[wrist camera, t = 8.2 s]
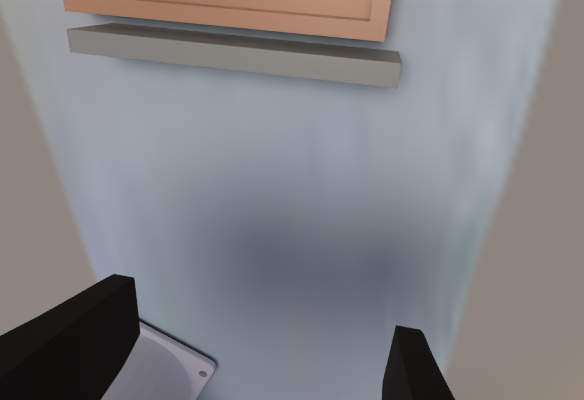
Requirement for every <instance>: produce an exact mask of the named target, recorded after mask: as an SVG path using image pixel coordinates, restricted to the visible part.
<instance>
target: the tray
mask: <svg viewBox="0 0 584 400" xmlns="http://www.w3.org/2000/svg"><path fill="white" fill-rule="evenodd" d="M63 1H64V8H65V11H71V12H81V13H92V14H102V15H112V16H122V17H133V18H143V19H153V20H164V21H174V22H184V23H195V24H205V25H215V26H226V27H236V28H246V29H257V30H267V31H277V32H288V33H298V34H308V35H319V36H329V37H339V38H350V39H360V40H370V41H381V42H384V41H385V35H386V29H387V23H388V16H389V10H390V4H391V0H63Z"/></svg>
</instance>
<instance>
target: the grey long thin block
mask: <svg viewBox="0 0 584 400" xmlns="http://www.w3.org/2000/svg"><path fill="white" fill-rule="evenodd" d="M67 34H68V41H69V48H70V52H73V53H82V54H91V55H100V56H109V57H119V58H128V59H137V60H146V61H155V62H164V63H173V64H182V65H191V66H200V67H209V68H218V69H227V70H236V71H245V72H254V73H263V74H273V75H282V76H291V77H300V78H309V79H318V80H327V81H336V82H345V83H354V84H363V85H372V86H381V87H390V88H397V86H398V80H399V75H400V69H401V64H402V63H401V60H400V56H399V52H396V51H386V50H376V49H366V48H356V47H346V46H336V45H326V44H316V43H306V42H296V41H286V40H276V39H266V38H255V37H245V36H235V35H225V34H215V33H205V32H195V31H185V30H175V29H165V28H155V27H145V26H135V25H125V24H115V23H110V24H103V25H95V26H87V27H80V28H72V29H67Z"/></svg>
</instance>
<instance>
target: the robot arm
mask: <svg viewBox="0 0 584 400" xmlns="http://www.w3.org/2000/svg"><path fill="white" fill-rule="evenodd" d="M215 368H216V364H215V363H214V362H213V361H212V360H210V359H209V358H207V357H205V356H203V355H201V354H199V353H197V352H196V351H194V350H192V349H190V348H188V347H186V346H184V345H183V344H181V343H179V342H177V341H175V340H173V339H171V338H169V337H168V336H166V335H164V334H162V333H160V332H158V331H156V330H155V329H153V328H151V327H149V326H147V325H145V324H143V323H142V322H140V321H139V315H138V306H137V298H136V289H135V280H134V278H133V277H127V276H122V275H116V274H113V275H111V276H109V277H107V278H105V279H104V280H102V281H100V282H98V283H96V284H95V285H93V286H91V287H89V288H88V289H86V290H84V291H82V292H81V293H79V294H77V295H75V296H74V297H72V298H70V299H68V300H66V301H65V302H63V303H62V304H59V305H58V306H56V307H54V308H52V309H50V310H49V311H47V312H45V313H43V314H42V315H40V316H38V317H36V318H34V319H32V320H30V321H28V322H26V323H24V324H22V325H20V326H19V327H17V328H15V329H13V330H11V331H9V332H7V333H5V334H3V335H1V336H0V400H196V398H197V397H198V395H199V394H200V392H201V391H202V389H203V388H204V386H205V385H206V383H207V382H208V380H209V379H210V377H211V376H212V374H213V373H214V371H215ZM382 400H455V398H454V397H453V395H452V393H451V391H450V389H449V387H448V385H447V383H446V382H445V380H444V378H443V376H442V374H441V371H440V369H439V367H438V365H437V363H436V361H435V359H434V357H433V355H432V352H431V350H430V348H429V346H428V343H427V341H426V338H425V336H424V334H423V332H422V331H421V330H419V329H413V328H408V327H402V326H397V325H396V328H395V332H394V336H393V341H392V345H391V349H390V353H389V357H388V362H387V366H386V370H385V374H384V378H383V387H382Z"/></svg>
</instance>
